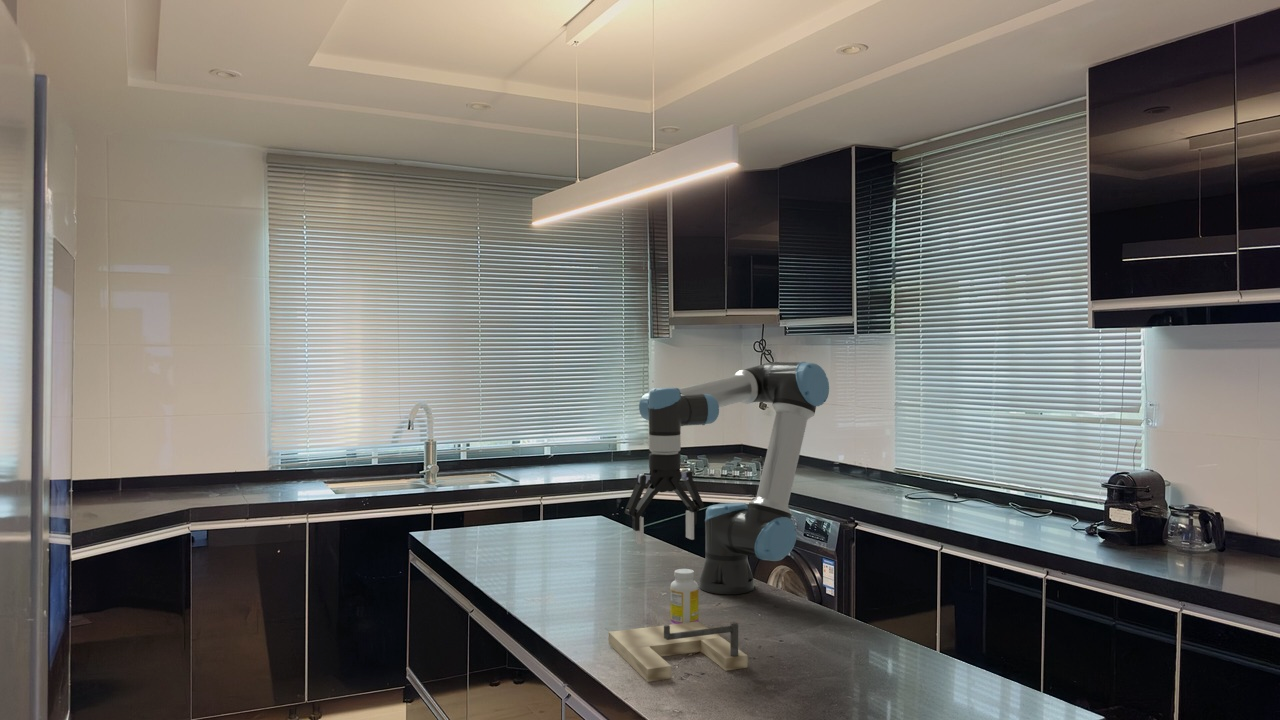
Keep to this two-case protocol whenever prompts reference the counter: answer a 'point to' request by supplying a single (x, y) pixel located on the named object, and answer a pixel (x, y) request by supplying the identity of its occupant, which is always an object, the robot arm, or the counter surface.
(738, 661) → the wooden u-shaped stand
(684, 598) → the supplement bottle
